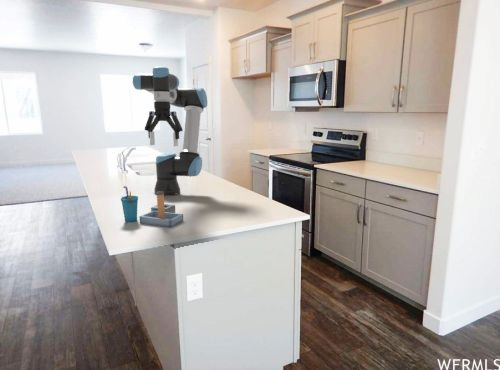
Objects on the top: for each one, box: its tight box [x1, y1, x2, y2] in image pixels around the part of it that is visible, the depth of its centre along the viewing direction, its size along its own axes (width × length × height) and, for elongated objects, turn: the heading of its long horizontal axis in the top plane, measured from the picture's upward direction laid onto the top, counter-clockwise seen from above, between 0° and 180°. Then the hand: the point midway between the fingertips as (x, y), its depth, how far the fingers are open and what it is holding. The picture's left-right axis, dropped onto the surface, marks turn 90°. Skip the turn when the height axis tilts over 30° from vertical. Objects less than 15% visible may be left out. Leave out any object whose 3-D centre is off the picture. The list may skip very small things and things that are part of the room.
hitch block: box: [150, 203, 176, 213], centre depth 172 cm, size 8×8×4 cm
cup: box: [120, 185, 139, 223], centre depth 162 cm, size 14×8×15 cm, turn 34°
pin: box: [156, 191, 165, 219], centre depth 159 cm, size 3×3×13 cm
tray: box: [138, 210, 184, 228], centre depth 160 cm, size 16×10×3 cm, turn 68°
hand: (164, 145), depth 176 cm, fingers open, 13 cm apart
